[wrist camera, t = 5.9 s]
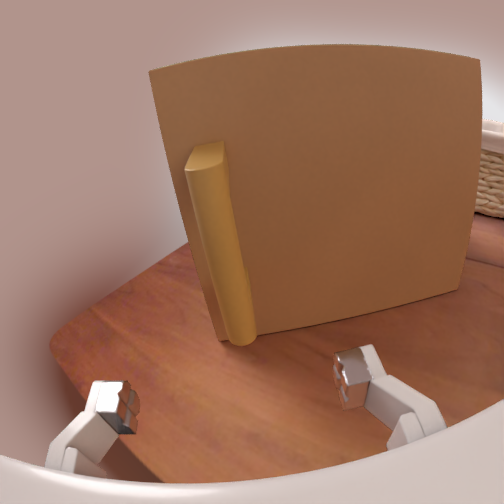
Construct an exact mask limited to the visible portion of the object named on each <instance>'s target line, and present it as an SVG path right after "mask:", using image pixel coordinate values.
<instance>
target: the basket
mask: <svg viewBox="0 0 504 504" xmlns="http://www.w3.org/2000/svg"><path fill="white" fill-rule="evenodd" d="M477 211H478V212H480V213H482V214H485V215H489V216H493V217H500V218H504V123H501V122H497V121H493V120H487V119H482V142H481V158H480V170H479V180H478V189H477V197H476V204H475V212H477Z"/></svg>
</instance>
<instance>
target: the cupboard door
mask: <svg viewBox="0 0 504 504" xmlns="http://www.w3.org/2000/svg"><path fill="white" fill-rule="evenodd" d="M149 77H150V82H151V87H152V92H153V97H154V102H155V106H156V111H157V116H158V120H159V124H160V130H161V134H162V139H163V142H164V147H165V151H166V156H167V160H168V164H169V168H170V172H171V177H172V181H173V184H174V189H175V193H176V196H177V200H178V204H179V208H180V212H181V215H182V219H183V223H184V227H185V230H186V234H187V238H188V242H189V245H190V249H191V252H192V256H193V259H194V263H195V266H196V270H197V273H198V277H199V280H200V283H201V287H202V290H203V293H204V297H205V300H206V303H207V306H208V310H209V313H210V316H211V319H212V322H213V326H214V329H215V332H216V335H217V338H218V341H223V340H229V341H230V342H231V343H232V344H234V345H236V346H245V345H248V344H250V343H252V342H253V341H254V340H255V339H256V337H257V335H262V334H268V333H274V332H280V331H285V330H291V329H296V328H301V327H307V326H312V325H317V324H322V323H327V322H331V321H336V320H341V319H345V318H350V317H354V316H359V315H363V314H367V313H371V312H376V311H380V310H384V309H388V308H392V307H396V306H400V305H404V304H407V303H411V302H415V301H419V300H422V299H426V298H429V297H433V296H436V295H440V294H443V293H447V292H450V291H453V290H457V289H458V286H459V282H460V278H461V274H462V270H463V266H464V262H465V258H466V253H467V249H468V244H469V239H470V234H471V228H472V223H473V217H474V211H475V204H476V197H477V189H478V180H479V170H480V158H481V142H482V83H481V67H480V60H479V59H475V58H471V57H466V56H460V55H455V54H449V53H443V52H437V51H430V50H422V49H414V48H404V47H392V46H377V45H305V46H289V47H277V48H267V49H258V50H250V51H242V52H235V53H229V54H223V55H217V56H211V57H206V58H201V59H196V60H191V61H187V62H182V63H178V64H174V65H169V66H165V67H162V68H158V69H154V70H150V71H149Z"/></svg>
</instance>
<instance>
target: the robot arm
mask: <svg viewBox="0 0 504 504" xmlns="http://www.w3.org/2000/svg"><path fill="white" fill-rule="evenodd" d="M333 360H334V363H335V364H334V365H333V379H334V383H335V386H336V389H338V390H339V391H340V392H339V399H340V402H341V405H342V409H343V411H345V410H349V409H354V408H358V407H362V406H364V408H366V409H367V410H368V411H369V412H370V413H372V414H373V415H374V416H375V417H376V418H378V419H379V420H380V421H381V422H382V423H384V424H385V425H386V426H387V427H389V428H390V429H391V430H392V431H393V433H392V435H391V436H390V438H389V440H388V442H387V444H386V447H387V450H388V451H386V452H383V453H380V454H376V455H373V456H370V457H366V458H363V459H359V460H356V461H352V462H348V463H344V464H340V465H336V466H332V467H328V468H323V469H319V470H314V471H309V472H303V473H298V474H292V475H286V476H279V477H272V478H265V479H256V480H247V481H235V482H221V483H190V484H178V483H147V482H133V481H122V480H113V479H106V477H107V473H106V472H105V470H103V469H102V468H101V467H99V466H98V464H99V462H100V461H101V460H102V458H103V456H104V455H105V454H106V453H107V451H108V450H109V448H110V447H111V446H112V444H113V443H114V441H115V440H116V439H117V437H118V436H119V435H118V434H136V432H137V425H138V420H137V418H136V416H137V415H138V413H139V412H140V399H139V397H138V394H137V393H136V392H135V391H134V390H132V389H130V388H131V385H130V383H129V382H128V381H94V382H93V384H92V387H91V390H90V393H89V397H88V400H87V404H86V408H85V411H84V412H81V413H80V414H79V415H78V416H77V417H76V418H75V419H74V420H73V421H72V422H71V423H70V424H69V425H68V426H67V427H66V428H65V429H64V430H63V431H62V432H61V433H60V434H59V435H58V436H57V437H56V438H55V439H54V440H53V441H52V442H51V443H50V447H49V450H48V454H47V458H46V462H45V466H44V467H41V466H37V465H33V464H29V463H26V462H22V461H19V460H16V459H12V458H9V457H6V456H3V455H0V504H504V399H502V400H501V401H499V402H497V403H496V404H494V405H492V406H490V407H488V408H486V409H485V410H483V411H481V412H479V413H477V414H475V415H473V416H471V417H469V418H467V419H465V420H463V421H461V422H459V423H457V424H455V425H452V426H450V427H447V425H446V423H445V421H444V419H443V417H442V415H441V413H440V411H439V408H438V406H437V404H436V402H435V401H433V400H431V399H430V398H428V397H426V396H425V395H423V394H421V393H420V392H418V391H416V390H415V389H413V388H412V387H410V386H408V385H407V384H405V383H403V382H402V381H400V380H399V379H397V378H395V377H394V376H392V375H387V374H386V372H385V369H384V367H383V365H382V363H381V361H380V359H379V357H378V355H377V352H376V350H375V348H374V346H373V345H372V344H370V345H366V346H362V347H357V348H353V349H349V350H345V351H340V352H336V353H334V355H333Z"/></svg>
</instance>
